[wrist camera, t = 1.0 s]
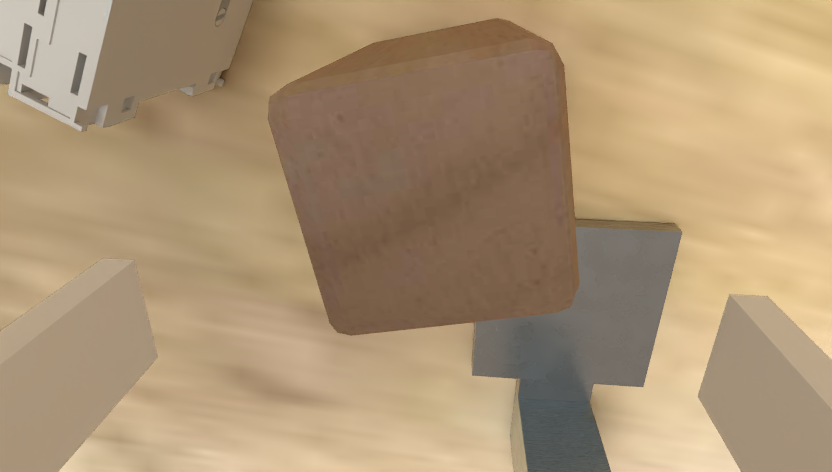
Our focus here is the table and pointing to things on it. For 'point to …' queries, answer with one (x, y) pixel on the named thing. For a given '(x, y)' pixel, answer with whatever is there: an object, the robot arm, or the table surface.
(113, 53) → the circuit breaker
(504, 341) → the press
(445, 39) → the wooden block
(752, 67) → the table surface
